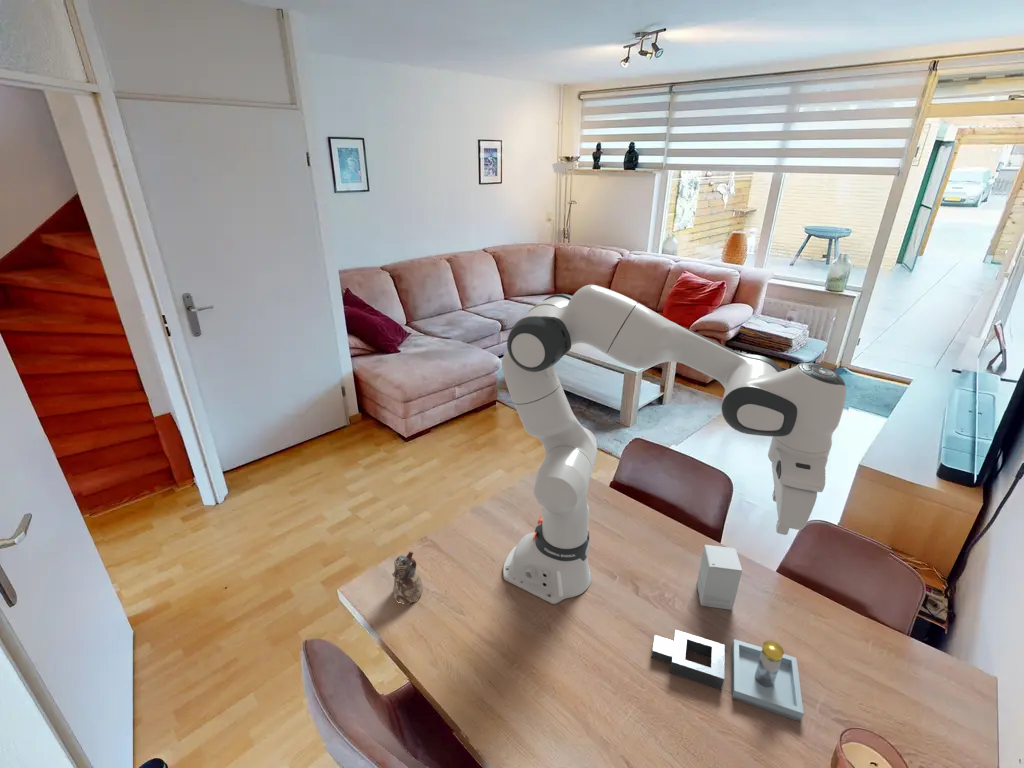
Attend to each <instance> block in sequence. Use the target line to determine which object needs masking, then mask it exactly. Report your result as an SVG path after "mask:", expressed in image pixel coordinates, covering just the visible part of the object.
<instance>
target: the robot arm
mask: <svg viewBox="0 0 1024 768" xmlns="http://www.w3.org/2000/svg"><path fill="white" fill-rule="evenodd" d="M576 344H586V345H589V346H591V347H593V348H594V349H596V350H598V351H600V352H602V353H603V354H605V355H607V356H609V357H610V358H612V359H614V360H615V361H617V362H619V363H621V364H624V365H626V366H629V367H632V368H634V369H641V370H642V369H647V368H652V367H654V366H657V365H660V364H663V363H664V364H665V363H669V362H672V363H673V362H675V363H679V364H681V365H682V364H683V365H685V366H687V367H689V368H692V369H694V370H696V371H697V372H700V373H702V374H704V375H706V376H708V377H711V378H712V379H715V380H716V381H718V383H720V384H721V385H722V386H723V388H724V392H723V397H722V404H721V413H722V416H723V418H724V421H725V422H726V423H727V424H728V425H729V426H730V427H731V428H732V429H734V430H735V431H737V432H739V433H742V434H745V435H753V436H761V437H771V442H770V445H769V449H768V453H767V457H768V459H769V461H770V462H771V470H772V476H773V477H772V478H773V479H772V480H773V491H772V501H773V502H775V504H776V511H777V519H778V520H777V521H776V525H775V530H776V533H777V534H779V535H782V536H783V535H785V536H786V535H788V533H789V531H790V529H791V530H796V531H801V530H803V529H804V528H805V527H806V525H807V524H808V521H809V519H810V517H811V514H812V512H813V509H814V507H815V504H816V501H817V497H818V493H822V492H823V491H824V490H825V489H824V488H825V487H826V467H827V464H828V461H829V460H828V459H829V454H830V451H831V449H832V445H833V439H832V437H833V435H834V432H835V431H836V429H837V428H838V427H839V424H840V421H841V418H842V415H843V412H844V407H845V402H846V398H847V385H846V383H845V381H844V379H843V378H842V377H841V376H840V375H839V374H838V373H837V372H836V371H834V370H833V369H831V368H828V366H827V367H826V366H824V365H821V364H818V363H814V362H813V363H812V362H801V363H798V364H796V365H795V366H793V367H791V368H788V369H785V370H783V369H782V367H781V366H780V365H779V364H778V363H777V362H776V361H775V360H774V359H771V358H768V357H766V356H763V355H759V354H751V353H750V354H749V353H744V352H740V351H736V350H734V349H732V348H729V347H727V346H724V345H722V344H720V343H718V342H716V341H714V340H712V339H710V338H708V337H705V336H704V335H702V334H699V333H697V332H695V331H693V330H691V329H689V328H686V327H684V326H681V325H679V324H678V323H676V322H674V321H671V320H669V319H668V318H666V317H664V316H663V315H661V314H659V313H657V312H656V311H654V310H652V309H650V308H648V307H647V306H646V305H644V304H642V303H640V302H638V301H637V300H634V299H632V298H630V297H629V296H626V295H624V294H621V293H619V292H618V291H614V290H612V289H609V288H608V287H607V288H606V287H603V286H601V285H597V284H588V285H584V286H581V287H580V288H579V289H577V291H575V293H574V294H572V295H571V294H566V293H557V294H553V295H549V296H548V297H546V298H544V299H543V300H542V301H540V302H539V303H537V304H536V305H534V306H533V307H532V308H530V309H529V310H528V312H527V313H526V314H525V315H524V316H523V317H522V318H520V319H519V320H518V321H517V322H516V323H515V324H514V325H513V327H512V328H511V329H510V332H509V334H508V336H507V342H506V347H507V351H506V352H505V353H504V355H502V360H501V368H502V371H503V376H504V380H505V384H506V388H507V390H508V392H509V396H510V397H511V400H512V403H513V405H514V407H515V410H516V412H517V415H518V417H519V419H520V421H521V424H522V426H523V428H524V430H525V432H526V434H528V435H529V436H531V437H534V438H537V439H538V440H539V442H540V443H541V445H543V449H544V454H545V455H544V458H543V460H542V462H541V465H540V467H539V468H538V470H537V473H536V475H535V476H536V477H535V482H534V486H533V487H534V488H533V494H534V497H535V500H536V501H537V503H538V505H540V507H541V509H542V510H541V511H542V515H541V516H539V517H538V518H539V519H538V520H537V526H536V527H535V529H534V532H529V533H526V534H525V535H524V536H523V537H522V538H521V539H520V540H519V542H518V543H517V544H516V545H515V546H514V547H513V548H512V549H511V551H510V552H509V553H508V555H507V557H506V558H505V561H504V564H503V569H502V576H503V579H504V581H506V582H508V583H510V584H512V585H514V586H516V587H518V588H520V589H522V590H524V591H525V592H527V593H530V594H532V595H534V596H536V597H538V598H540V599H542V600H543V601H546V602H548V603H549V604H553V605H557V604H559V603H560V602H562V601H563V600H566V599H570V598H574V597H576V596H579V595H581V594H583V593H584V592H586V590H588V588H589V587H590V585H591V583H592V573H591V570H590V566H589V558H588V555H589V551H590V544H591V543H590V541H591V540H590V532H589V522H590V521H589V520H590V506H589V504H588V502H587V496H588V495H587V493H588V488H589V483H590V480H591V476H592V472H593V470H594V467H595V465H596V464H595V463H596V461H597V457H598V443H597V442H598V441H597V439H596V436H595V435H594V434H593V432H592V431H591V430H589V429H588V428H586V427H584V426H582V425H581V423H580V422H579V420H578V418H577V417H576V415H575V414H574V412H573V410H572V408H571V405H570V403H569V400H568V398H567V395H566V394H565V391H564V387H563V386H562V384H561V381H560V378H559V377H558V374H557V371H556V368H555V364H557V363H558V362H559V361H560V360H561V359H562V358H563V357H564V356H565V355H566V354H568V352H569V351H570V350H571V349H572V347H573V346H574V345H576Z"/></svg>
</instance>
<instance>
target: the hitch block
mask: <svg viewBox="0 0 1024 768" xmlns="http://www.w3.org/2000/svg"><path fill="white" fill-rule="evenodd" d="M725 647H726V645H725V644H724V643H720V642H717V641H714V640H711V639H707V638H704V637H701V636H698V635H694V634H691V633H688V632H684V631H681V630H678V629H675V630H674V636H673V639H669V638H668V637H667V638H666V637H663V636H660V635H656V634H654V638H653V644H652V651H651V659H653V660H657V661H660V662H663V663H666V664H668V665H670V667H669V673H670V674H672V675H675V676H678V677H681V678H684V679H688V680H689V681H693V682H697V684H698V683H699V684H702V685H705V686H707V687H711V688H714V689H716V690H720V691H722V690H723V686H724V682H725V664H726V663H725V657H726V656H725V654H726V653H725V649H726V648H725ZM687 652H690V653H693V654H696V655H700V656H702V657H705V658H708V666H706V665H704V664H700V663H697V662H695V661H690V660H688V659H686V656H687V655H686V653H687Z"/></svg>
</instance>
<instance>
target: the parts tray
mask: <svg viewBox="0 0 1024 768" xmlns="http://www.w3.org/2000/svg"><path fill="white" fill-rule="evenodd" d="M762 647H763V646H759V645H755V644H751V643H748V642H745V641H742V640H739V639H735V638H734V639H733V642H732V645H731V698H732V700H736V701H738V702H741V703H745V704H747V705H750V706H754V707H756V708H759V709H761V710H762V709H763V710H766V711H768V712H770V713H775V714H777V715H780V716H782V717H786V718H789V719H792V720H795V721H797V722H801V721H802V719H803V716H804V707H803V698H802V690H801V682H800V676H799V674H800V673H799V667H798V660H797V659H798V658H797V657H796V656H792V655H790V654H789V655H788V654H785V653H784V654H783V657H782V660H781V663H780V667H779V670H778V673H777V676H776V679H775V683H774V685H773V686H772V687H764V686H762V685H760V684H759V683H758V682H757V681H756V679H755V672H756V668H757V665H758V661H759V658H760V654H761V651H762Z"/></svg>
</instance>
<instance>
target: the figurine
mask: <svg viewBox="0 0 1024 768" xmlns="http://www.w3.org/2000/svg"><path fill="white" fill-rule="evenodd" d="M413 555H414V552H413V551H411V550H410V551H408V553H407V555H399V556H398V557H397V558H396V559H395V560H394V562H393V563H394V564H393V565H394V571H393V572H392V573H391V575H392V577H393V580H394V581H393V584H394V585H393V589H392V590H393V598H395V599H396V600H397V601H398V602H401V603H404V604H410V603H412V602H415V601H416V600H417V599H418V600H419V599H420V598H421V597H422V595H423V591H424V585H423V581H422V577H421V575H420V574H419V571H418V570H417V561H416V560H415V559H414V558H413ZM421 594H422V595H421ZM420 596H421V597H420ZM419 597H420V598H419ZM395 599H394V600H395ZM396 600H395V601H396ZM418 600H417V601H418ZM417 601H416V602H417ZM416 602H415V603H416Z"/></svg>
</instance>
